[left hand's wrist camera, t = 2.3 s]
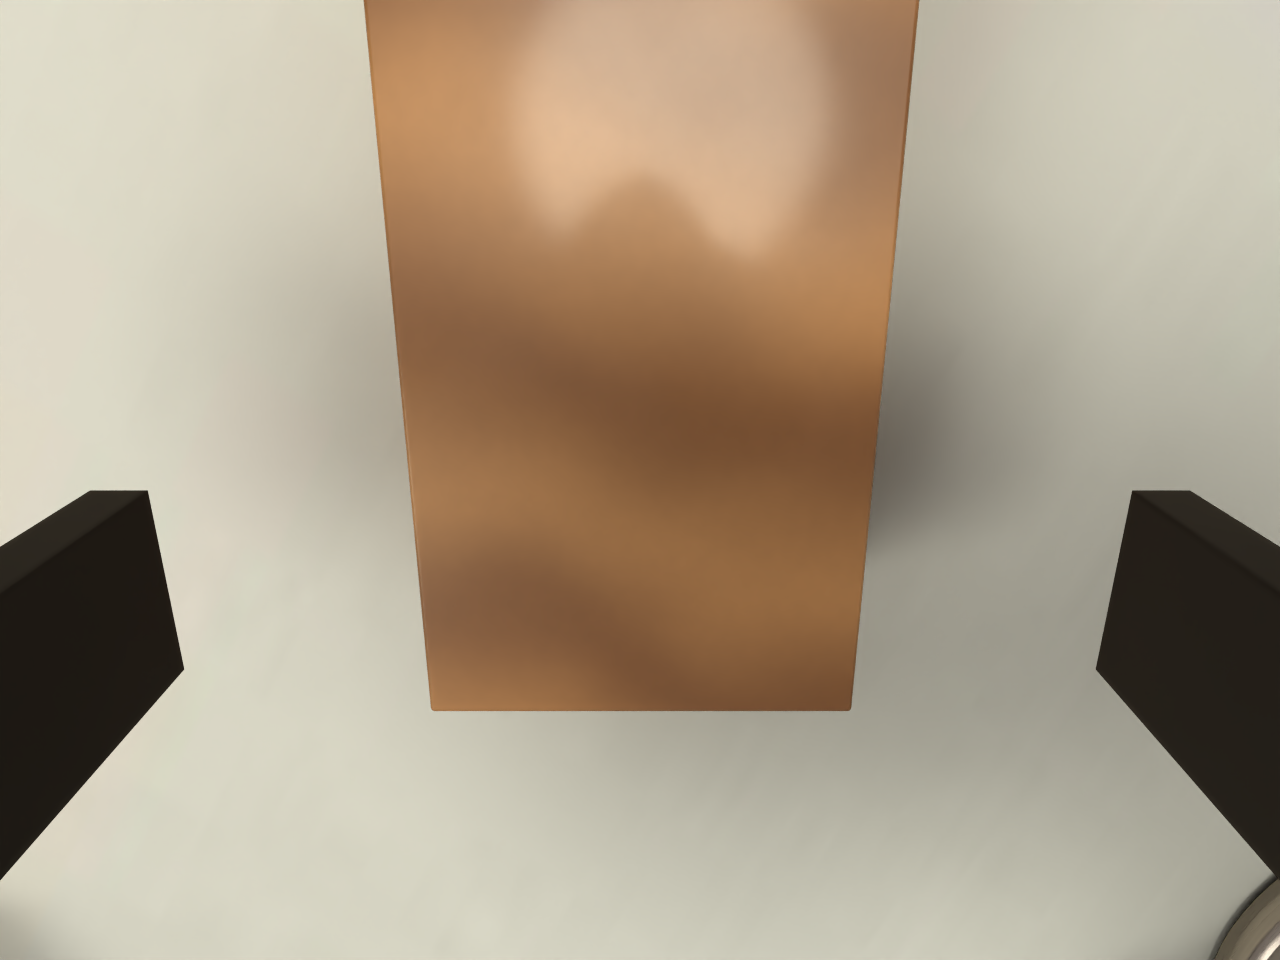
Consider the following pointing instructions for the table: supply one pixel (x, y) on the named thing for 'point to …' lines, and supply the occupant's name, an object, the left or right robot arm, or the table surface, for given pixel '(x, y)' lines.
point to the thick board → (641, 338)
